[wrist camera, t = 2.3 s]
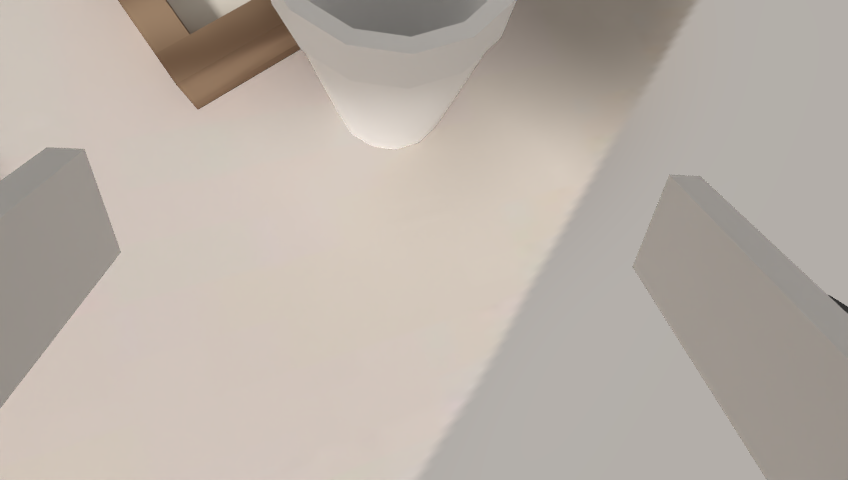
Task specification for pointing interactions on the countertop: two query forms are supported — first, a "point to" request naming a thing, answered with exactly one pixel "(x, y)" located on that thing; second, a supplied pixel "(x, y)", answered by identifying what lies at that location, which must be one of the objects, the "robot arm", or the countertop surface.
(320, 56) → the foam cup
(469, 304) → the countertop surface
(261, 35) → the square wooden frame
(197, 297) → the countertop surface
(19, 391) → the countertop surface
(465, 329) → the countertop surface
